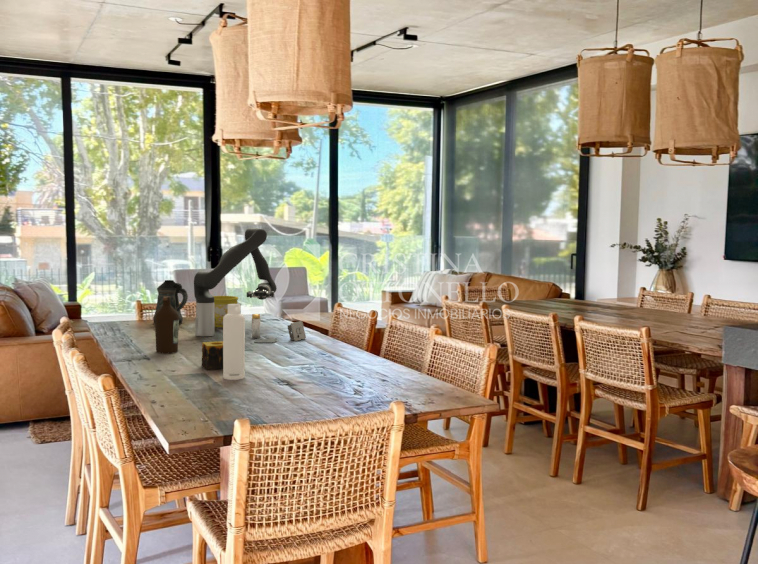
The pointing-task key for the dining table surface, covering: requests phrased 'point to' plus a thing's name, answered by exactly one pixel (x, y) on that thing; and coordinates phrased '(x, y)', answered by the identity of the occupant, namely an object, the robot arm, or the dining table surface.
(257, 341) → the mat
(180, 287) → the beer stein
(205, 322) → the robot arm
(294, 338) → the electrical switch
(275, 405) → the dining table surface
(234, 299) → the flowerpot
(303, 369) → the dining table surface
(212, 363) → the yellow black spotted box
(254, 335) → the canister
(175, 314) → the olive oil
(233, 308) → the bottle
